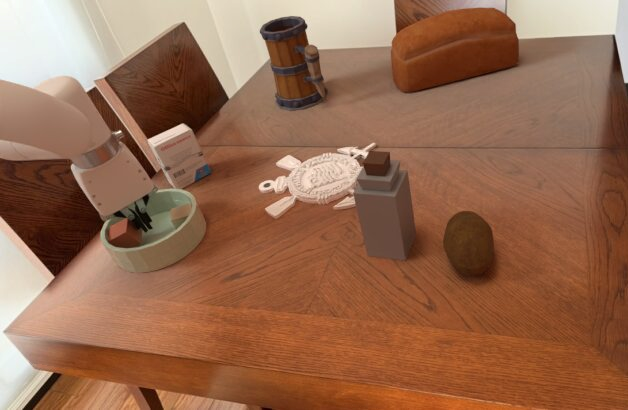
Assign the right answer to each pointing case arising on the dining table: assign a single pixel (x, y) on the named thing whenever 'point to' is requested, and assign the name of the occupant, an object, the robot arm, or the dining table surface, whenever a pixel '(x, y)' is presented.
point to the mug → (293, 64)
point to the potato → (469, 243)
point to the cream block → (180, 214)
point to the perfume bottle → (385, 207)
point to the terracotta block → (125, 234)
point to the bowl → (160, 234)
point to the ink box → (179, 156)
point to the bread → (453, 48)
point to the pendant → (317, 180)
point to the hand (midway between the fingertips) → (146, 227)
